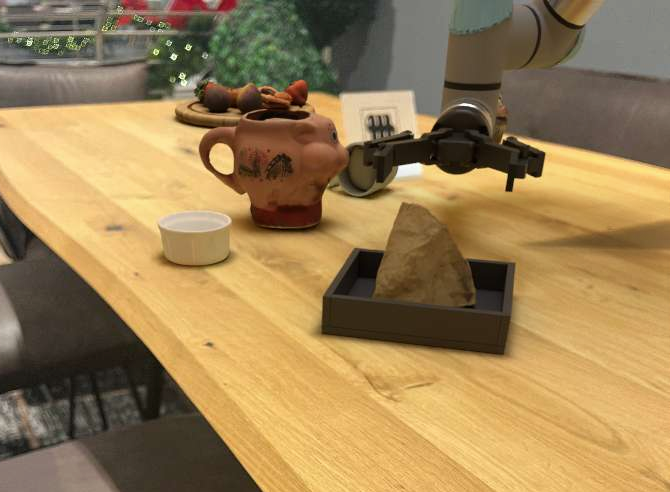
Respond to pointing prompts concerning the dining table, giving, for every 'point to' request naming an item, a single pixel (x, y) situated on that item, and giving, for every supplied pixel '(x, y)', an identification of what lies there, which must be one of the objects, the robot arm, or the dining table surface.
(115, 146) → the dining table surface
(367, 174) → the ceramic mug
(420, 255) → the rock
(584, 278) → the dining table surface
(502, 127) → the cupcake
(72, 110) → the dining table surface
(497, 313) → the tray
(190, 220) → the ramekin
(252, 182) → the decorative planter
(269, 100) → the wooden plate
